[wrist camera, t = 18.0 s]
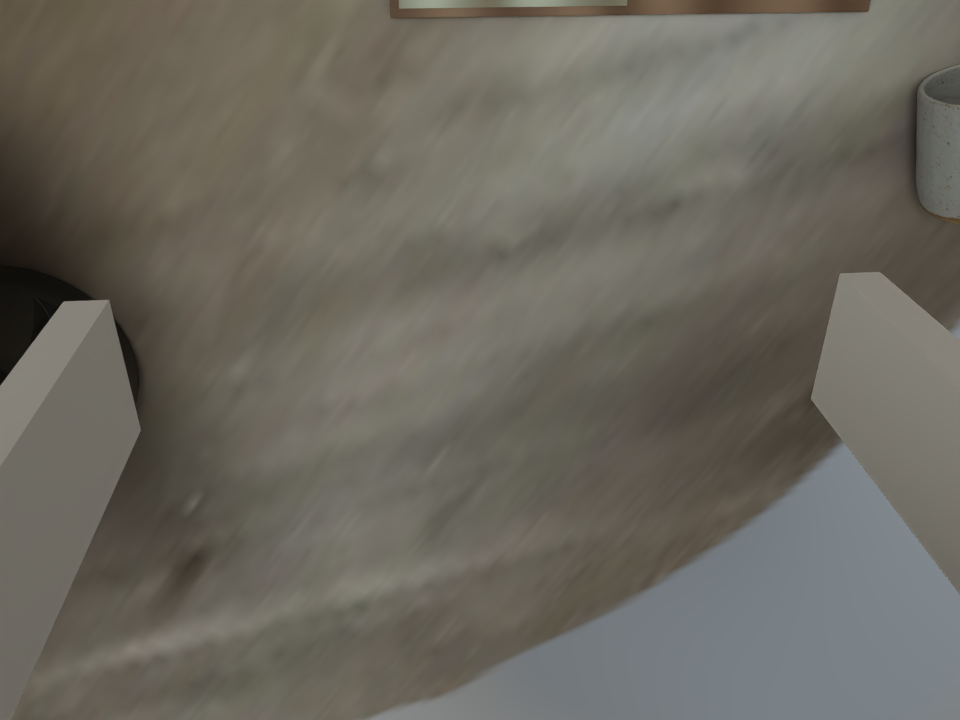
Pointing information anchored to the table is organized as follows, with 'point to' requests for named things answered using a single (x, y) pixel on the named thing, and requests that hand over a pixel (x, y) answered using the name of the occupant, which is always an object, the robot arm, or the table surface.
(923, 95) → the ceramic mug
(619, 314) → the table surface
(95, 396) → the robot arm
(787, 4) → the game board
